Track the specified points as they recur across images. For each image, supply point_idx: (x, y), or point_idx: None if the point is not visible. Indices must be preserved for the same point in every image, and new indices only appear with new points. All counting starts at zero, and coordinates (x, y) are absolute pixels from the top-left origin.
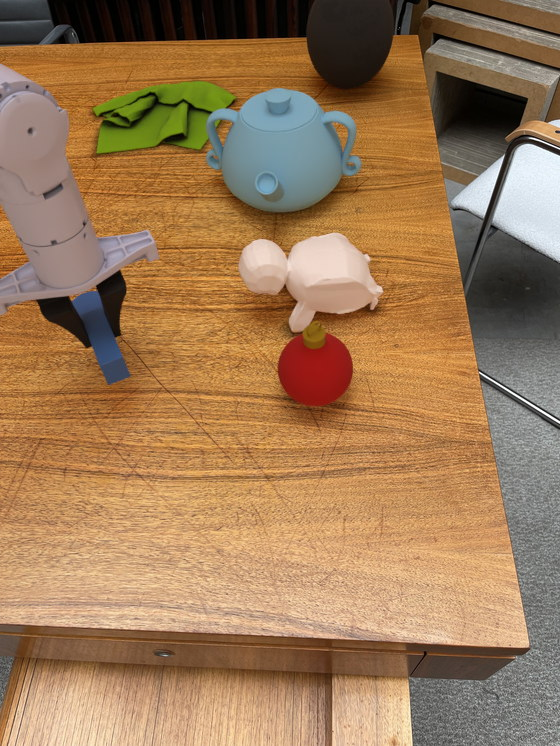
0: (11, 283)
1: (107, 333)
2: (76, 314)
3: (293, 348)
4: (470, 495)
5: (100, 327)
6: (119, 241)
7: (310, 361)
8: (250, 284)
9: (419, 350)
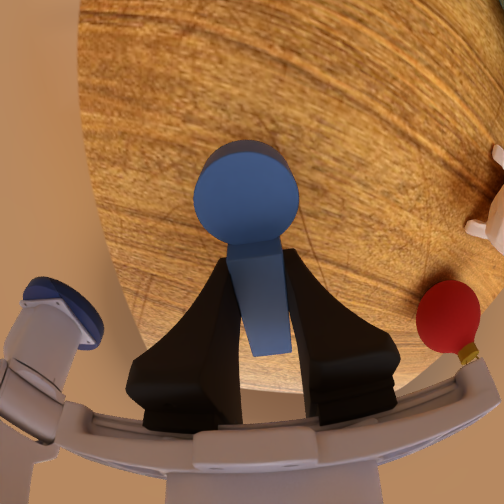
0: (115, 465)
1: (278, 316)
2: (230, 338)
3: (452, 339)
4: (433, 356)
5: (268, 302)
6: (433, 440)
7: (448, 352)
8: (493, 243)
9: (497, 274)
